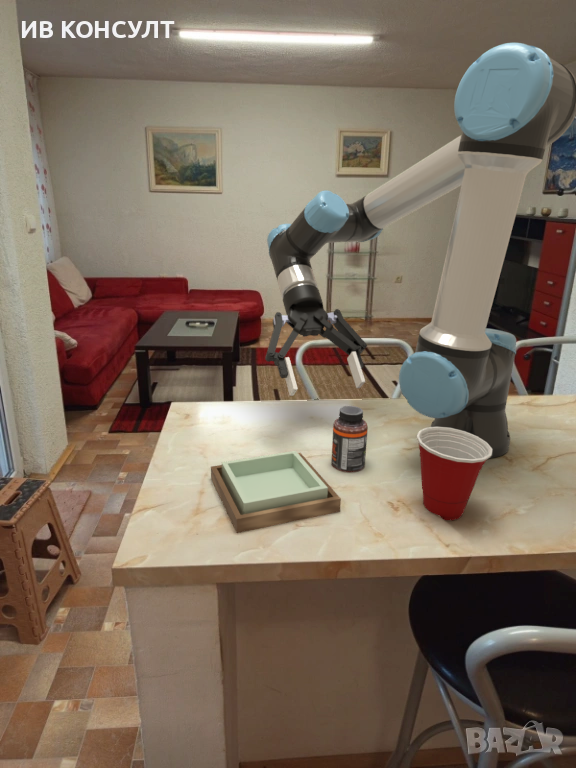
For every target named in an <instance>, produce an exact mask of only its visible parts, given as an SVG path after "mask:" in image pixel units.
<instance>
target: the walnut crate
mask: <svg viewBox="0 0 576 768" xmlns="http://www.w3.org/2000/svg"><path fill="white" fill-rule="evenodd" d="M297 453H298V454H299V455H300V456H301V457H302V459H303V460H304V461H305V462H306V463H307V464H308V465H309V467H310V468H311V469H312V470H313V471H314V472H315V474H316V475H317V476H318V477H319V478H320V479H321V480H322V482H323V483H324V484H325V485H326V486H327V487H328V494H327V498H325V499H320V500H315V501H310V502H305V503H300V504H295V505H289V506H284V507H279V508H274V509H269V510H264V511H259V512H254V513H248V514H243V515H240V513H239V511H238V509H237V507H236V505H235V503H234V501H233V499H232V497H231V495H230V493H229V491H228V489H227V487H226V485H225V483H224V482H223V480H222V464H219V465H213V466H210V479H211V481H212V484H213V485H214V487H215V491H216V492H217V495H218V496H219V498H220V500H221V502H222V504H223V507H224V509H225V511H226V513H227V515H228V517H229V519H230V520H229V521H230V522H231V523H232V526H233V528H234V530H235V532H236V533H237V534H238V533H243V532H249V531H254V530H259V529H264V528H269V527H273V526H278V525H282V524H287V523H288V524H289V523H292V522H297V521H301V520H307V519H310V518H316V517H321V516H326V515H330V514H336V513H340V512H341V504H342V503H341V502H342V501H341V500H342V498H341V497H340V495H338V494H337V492H336V491H335V490H334V489H333V488H332V487H331V486H330V485H329V484H328V482H327V481H326V480H325V479H324V478H323V476H321V474H320V473H319V472H318V470H316V468H315V467H314V466H313V465H312V464H311V463H310V461H309V460H308V459H307V458H306V457H305V456H304V455H303V453H302V452H297Z"/></svg>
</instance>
